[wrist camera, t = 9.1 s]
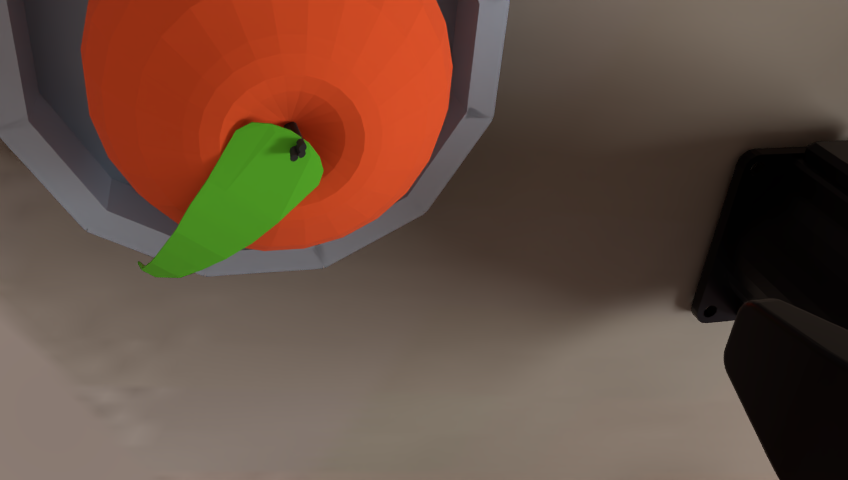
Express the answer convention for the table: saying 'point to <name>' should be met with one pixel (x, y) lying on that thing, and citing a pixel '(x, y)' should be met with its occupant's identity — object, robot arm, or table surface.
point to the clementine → (265, 114)
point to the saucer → (134, 216)
